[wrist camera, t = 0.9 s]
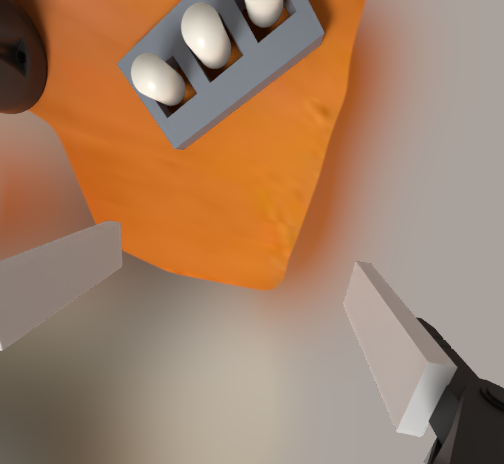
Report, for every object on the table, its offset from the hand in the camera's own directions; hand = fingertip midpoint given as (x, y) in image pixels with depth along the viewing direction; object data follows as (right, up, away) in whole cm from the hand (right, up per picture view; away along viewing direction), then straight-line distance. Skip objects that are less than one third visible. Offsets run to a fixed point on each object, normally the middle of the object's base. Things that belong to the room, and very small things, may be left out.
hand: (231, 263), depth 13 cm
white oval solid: (-3, +23, +15) cm, 28 cm away
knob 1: (-9, +20, +17) cm, 27 cm away
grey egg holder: (-3, +24, +18) cm, 30 cm away
